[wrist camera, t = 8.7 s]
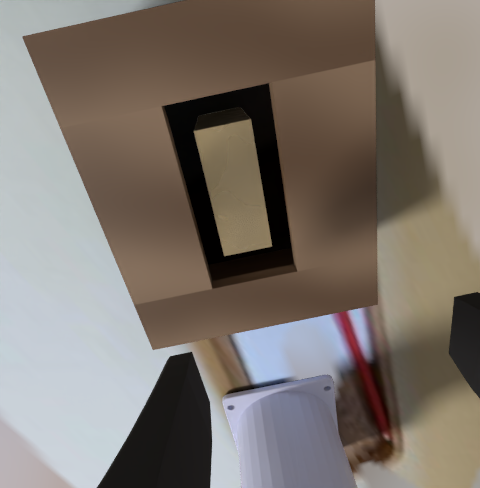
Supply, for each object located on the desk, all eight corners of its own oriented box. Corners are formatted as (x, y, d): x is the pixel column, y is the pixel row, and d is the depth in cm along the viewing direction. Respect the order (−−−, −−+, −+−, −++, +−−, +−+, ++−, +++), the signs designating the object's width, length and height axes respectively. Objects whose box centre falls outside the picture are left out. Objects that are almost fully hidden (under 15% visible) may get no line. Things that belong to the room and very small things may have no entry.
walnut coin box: (335, 246, 20) (377, 304, 15) (167, 280, 20) (153, 349, 15) (317, -2, 14) (374, -42, 9) (87, 49, 15) (22, 36, 10)
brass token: (257, 204, 18) (272, 246, 14) (221, 212, 18) (224, 256, 14) (240, 106, 16) (251, 118, 12) (198, 115, 16) (193, 131, 12)
